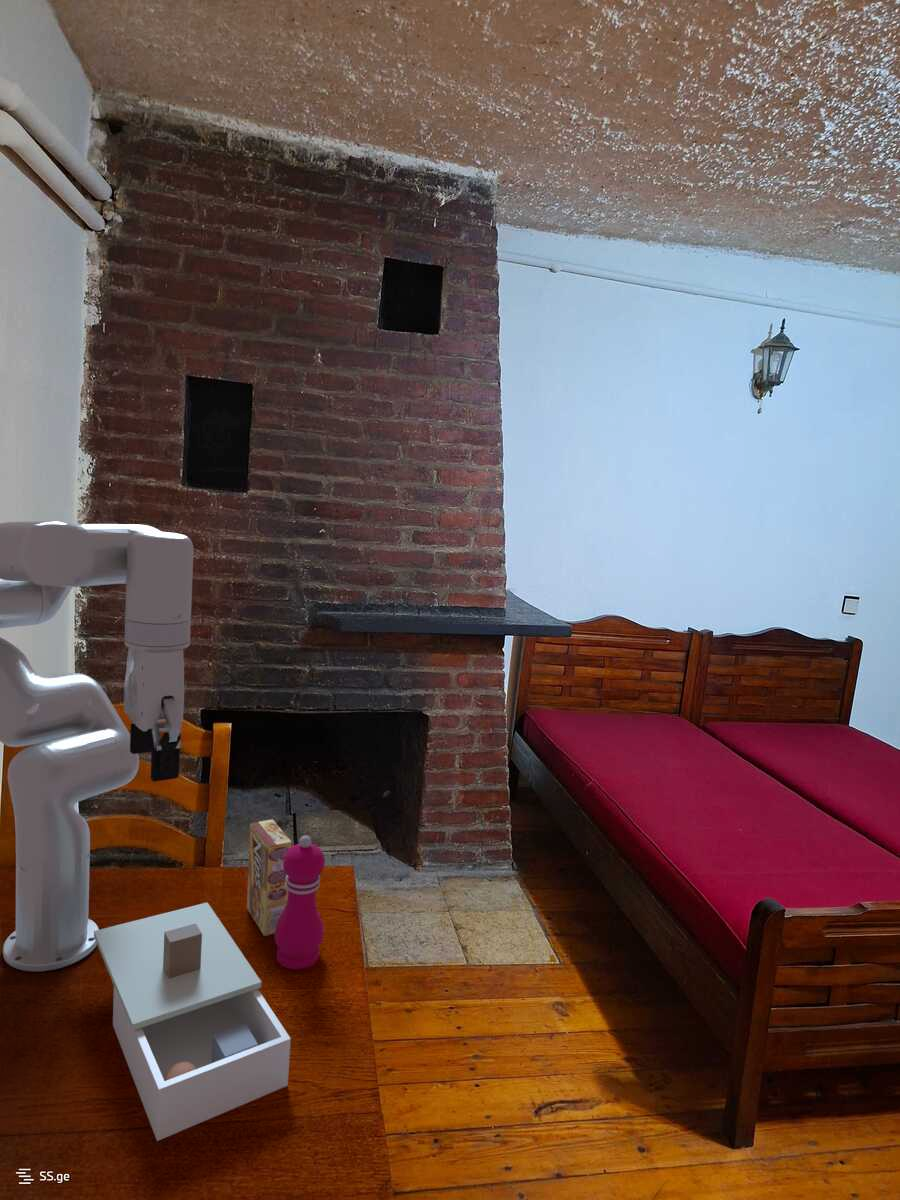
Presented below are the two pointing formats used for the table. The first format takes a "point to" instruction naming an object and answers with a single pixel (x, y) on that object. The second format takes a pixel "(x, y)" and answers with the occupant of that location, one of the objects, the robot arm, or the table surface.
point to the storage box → (203, 1061)
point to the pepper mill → (300, 907)
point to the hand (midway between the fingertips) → (153, 765)
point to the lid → (173, 964)
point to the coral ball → (179, 1069)
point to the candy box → (267, 874)
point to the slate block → (232, 1042)
